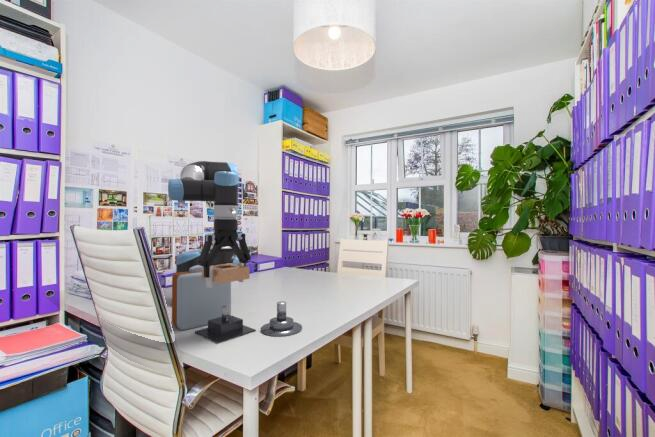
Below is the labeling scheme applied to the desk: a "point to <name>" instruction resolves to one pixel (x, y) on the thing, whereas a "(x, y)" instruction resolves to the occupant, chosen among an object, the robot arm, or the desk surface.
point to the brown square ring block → (228, 273)
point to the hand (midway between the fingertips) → (225, 284)
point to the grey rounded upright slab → (197, 299)
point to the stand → (224, 327)
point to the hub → (281, 323)
